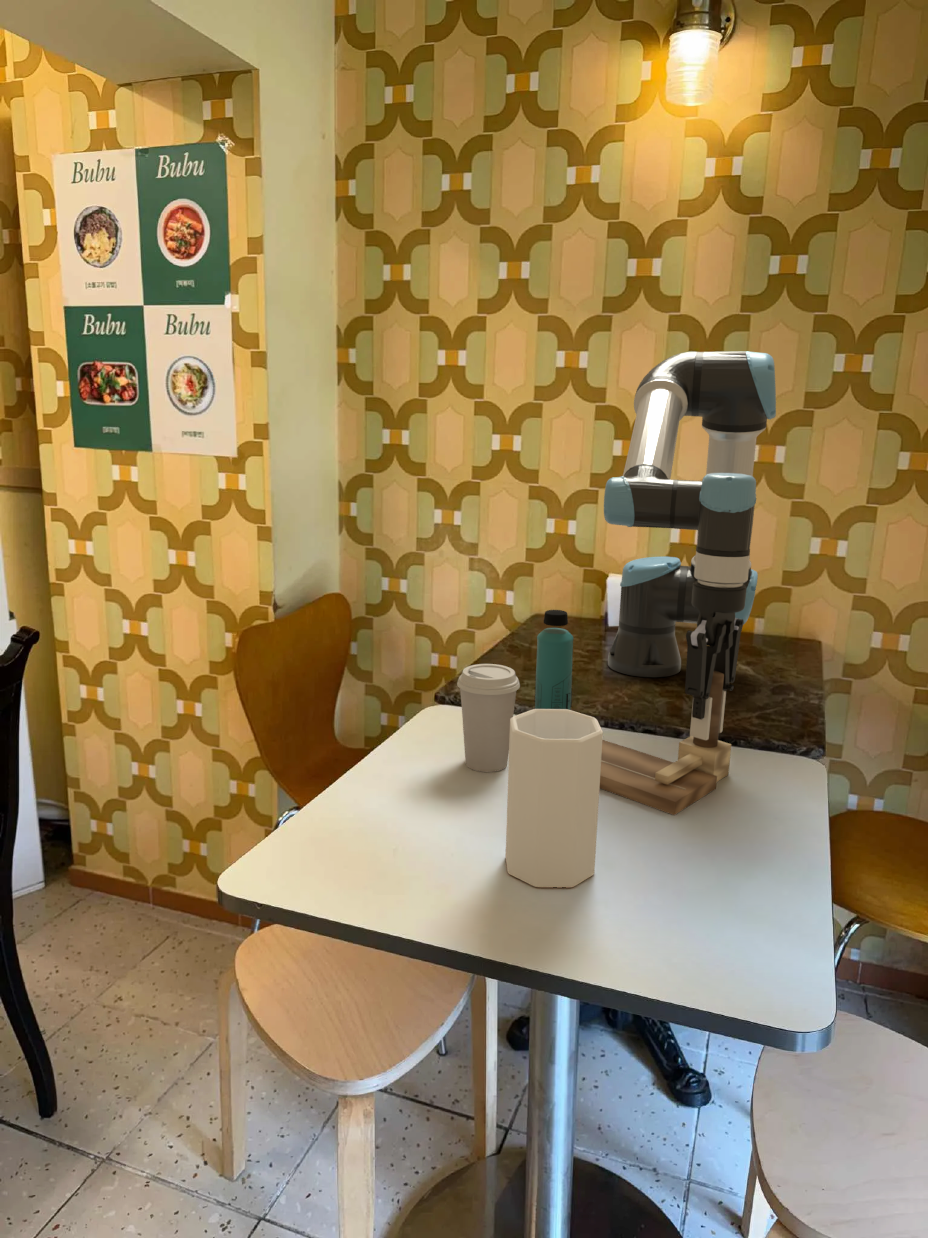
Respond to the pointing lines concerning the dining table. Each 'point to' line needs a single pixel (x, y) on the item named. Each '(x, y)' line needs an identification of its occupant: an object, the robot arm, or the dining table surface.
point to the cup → (553, 797)
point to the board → (650, 779)
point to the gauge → (702, 746)
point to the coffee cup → (487, 714)
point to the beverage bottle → (554, 664)
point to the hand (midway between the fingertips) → (706, 733)
